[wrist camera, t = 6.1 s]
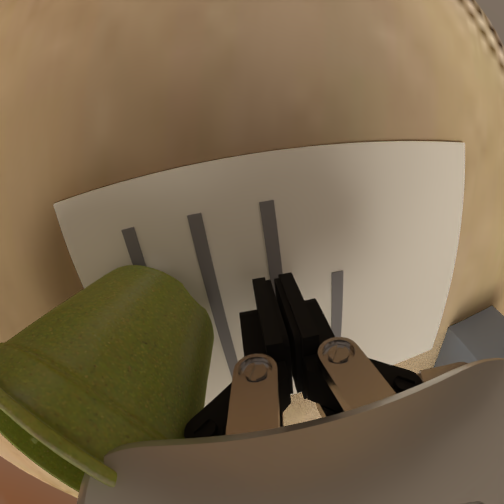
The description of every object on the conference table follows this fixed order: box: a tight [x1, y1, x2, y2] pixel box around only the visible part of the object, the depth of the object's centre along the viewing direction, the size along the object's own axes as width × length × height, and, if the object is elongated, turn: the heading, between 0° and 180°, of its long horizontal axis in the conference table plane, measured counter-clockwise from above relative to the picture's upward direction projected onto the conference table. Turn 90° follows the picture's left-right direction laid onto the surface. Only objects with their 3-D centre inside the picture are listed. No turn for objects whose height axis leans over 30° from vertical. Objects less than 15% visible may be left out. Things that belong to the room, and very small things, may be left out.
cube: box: [433, 306, 504, 368], centre depth 16 cm, size 6×6×6 cm
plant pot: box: [0, 265, 214, 492], centre depth 9 cm, size 9×9×9 cm
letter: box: [53, 141, 465, 407], centre depth 14 cm, size 15×21×1 cm
